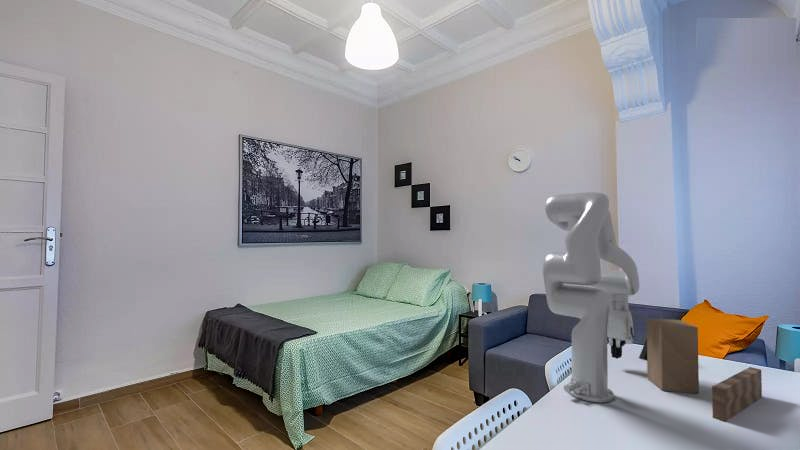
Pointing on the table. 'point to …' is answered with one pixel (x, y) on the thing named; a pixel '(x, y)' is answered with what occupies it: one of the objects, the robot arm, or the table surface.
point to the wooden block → (672, 355)
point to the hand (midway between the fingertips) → (616, 357)
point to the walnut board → (736, 393)
